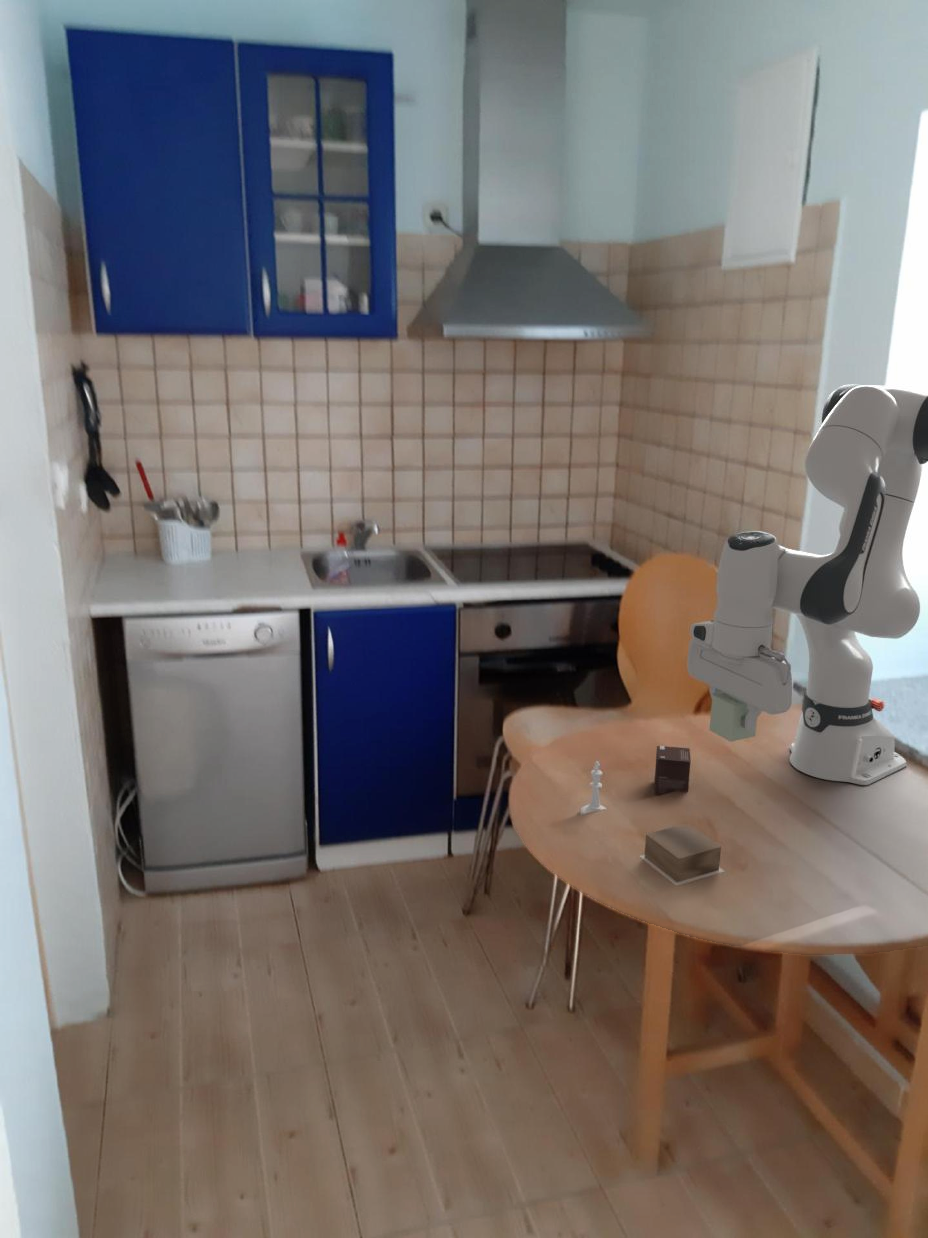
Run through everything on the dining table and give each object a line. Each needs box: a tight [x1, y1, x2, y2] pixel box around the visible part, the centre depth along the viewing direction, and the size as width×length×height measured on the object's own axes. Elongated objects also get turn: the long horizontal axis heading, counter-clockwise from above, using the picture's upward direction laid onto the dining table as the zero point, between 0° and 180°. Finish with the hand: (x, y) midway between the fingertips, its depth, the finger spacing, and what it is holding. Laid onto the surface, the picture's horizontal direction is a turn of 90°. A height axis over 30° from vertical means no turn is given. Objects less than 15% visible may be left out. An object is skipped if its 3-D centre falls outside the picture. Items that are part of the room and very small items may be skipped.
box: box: [653, 745, 691, 796], centre depth 173 cm, size 6×6×7 cm
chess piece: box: [579, 760, 607, 816], centre depth 163 cm, size 5×5×10 cm
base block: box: [644, 823, 722, 882], centre depth 146 cm, size 8×8×4 cm
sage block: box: [709, 692, 758, 743], centre depth 150 cm, size 5×5×6 cm
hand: (733, 720), depth 150 cm, fingers closed on sage block, 5 cm apart
